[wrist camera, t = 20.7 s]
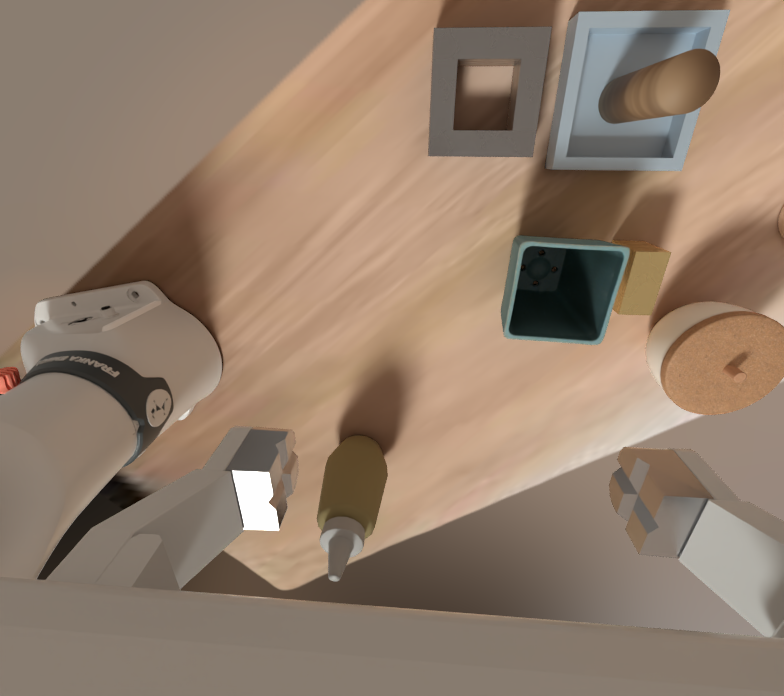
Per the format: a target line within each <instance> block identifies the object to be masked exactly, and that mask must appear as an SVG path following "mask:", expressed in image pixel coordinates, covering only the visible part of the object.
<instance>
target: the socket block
mask: <svg viewBox="0 0 784 696" xmlns="http://www.w3.org/2000/svg"><path fill="white" fill-rule="evenodd" d="M551 30H552V27H478V28H434V34H433V54H432V77H431V101H430V124H429V148H428V156H474V157H533V151H534V144H535V138H536V131H537V124H538V117H539V111H540V104H541V97H542V90H543V84H544V77H545V70H546V63H547V57H548V50H549V43H550V36H551ZM457 66H514V68H513V76H512V85H511V93H510V102H509V110H508V118H507V127H506V131H485V130H453V124H454V109H455V94H456V79H457Z"/></svg>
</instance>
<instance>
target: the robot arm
mask: <svg viewBox="0 0 784 696" xmlns="http://www.w3.org/2000/svg"><path fill="white" fill-rule="evenodd" d="M136 292H137V293H138V294H139V296H138V295H137V294H136ZM34 320H35V328H33V329H31V330H29V331H28V332H26V333H25V335H24V336H23V338H22V341H21V355H22V360H23V364H24V366H25V369H26V372H27V374H26V375H25V376H24V378H23V379H22V380H21V379H20V376H19V372H18V369H17V368H15V367H6V368H3V369H0V394H2V395H0V696H784V521H782V520H781V519H779V518H777V517H775V516H773V515H771V514H770V513H768V512H766V511H764V510H763V509H761V508H759V507H757V506H756V505H754V504H752V503H750V502H743V501H741V500H740V499H739V498H738V497H737V496H736V495H735V494H734V493H733V492H732V490H731V489H730V488H729V487H728V486H727V485H726V484H725V483H724V482H723V481H722V479H721V478H720V477H719V476H718V475H717V474H716V473H715V472H714V471H713V470H712V468H711V467H710V466H709V465H708V464H707V463H706V462H705V461H704V460H703V459H702V458H701V456H700V455H699V454H698V453H696V452H695V451H693V450H691V449H656V448H634V447H624V448H623V449H622V450H621V451H620V453H619V456H618V459H617V460H618V462H619V464H620V466H621V468H619V469H618V470H617V471H615V472H614V473H613V474H612V477H611V480H610V484H609V487H610V498H611V502H612V505H613V507H614V509H615V511H616V513H617V514H618V515H620V516H621V517H622V518H624V519H625V520H626V521H628V523H627V526H626V531H627V533H628V535H629V537H630V539H631V541H632V542H633V544H634V546H635V548H636V550H637V552H638V554H639V555H648V556H659V557H669V558H679V561H680V562H681V563H682V564H683V565H684V566H686V567H687V568H688V569H689V570H690V571H691V572H692V573H693V574H695V575H696V576H697V577H698V578H699V579H700V580H701V581H703V582H704V583H705V584H706V585H707V586H708V587H709V588H710V589H712V590H713V591H714V592H715V593H716V594H717V595H718V596H719V597H721V598H722V599H723V600H724V601H725V602H726V603H727V604H729V605H730V606H731V607H732V608H733V609H734V610H735V611H737V612H738V613H739V614H740V615H741V616H742V617H743V618H744V619H745V620H747V621H748V622H749V623H750V624H751V625H752V626H754V627H755V628H756V629H757V630H758V631H759V632H760V633H761V634H763V635H764V636H765V637H762V636H749V635H736V634H724V633H711V632H699V631H686V630H673V629H661V628H648V627H634V626H621V625H608V624H596V623H583V622H570V621H558V620H544V619H532V618H520V617H519V618H518V617H507V616H494V615H482V614H469V613H456V612H444V611H431V610H418V609H405V608H393V607H380V606H367V605H355V604H341V603H329V602H316V601H303V600H291V599H278V598H265V597H252V596H239V595H227V594H214V593H202V592H189V591H180V589H181V588H182V587H183V586H184V585H185V584H186V583H187V582H188V581H189V580H190V579H192V578H193V577H194V576H195V575H196V574H197V573H198V572H199V571H200V570H201V569H203V568H204V567H205V566H206V565H207V564H208V563H209V562H210V561H211V560H212V559H213V558H215V556H217V555H218V554H219V553H220V552H221V551H222V550H223V549H225V548H226V547H227V546H228V545H229V544H230V543H231V542H232V541H233V540H234V539H236V538H237V537H238V536H239V535H240V534H241V533H242V532H243V531H244V529H260V530H279V528H280V526H281V523H282V520H283V518H284V515H285V513H286V510H287V501H286V498H287V497H289V496H290V495H291V494H293V492H294V489H295V486H296V483H297V477H298V467H299V463H298V456H297V455H296V454H295V453H294V452H293V448H294V446H295V444H296V440H295V433H294V431H293V430H291V429H278V428H264V427H247V426H234V427H232V428H231V429H230V430H229V432H228V433H227V435H226V436H225V437H224V439H223V440H222V442H221V443H220V444H219V446H218V447H217V449H216V450H215V452H214V453H213V454H212V456H211V457H210V459H209V460H208V462H207V463H206V464H205V466H204V467H203V469H196V470H194V471H192V472H190V473H188V474H187V475H185V476H183V477H181V478H180V479H178V480H176V481H174V482H172V483H171V484H169V485H167V486H165V487H164V488H162V489H160V490H158V491H157V492H155V493H153V494H151V495H149V496H148V497H146V498H144V499H142V500H141V501H139V502H137V503H135V504H133V505H132V506H130V507H128V508H126V509H125V510H123V511H121V512H119V513H118V514H116V515H114V516H112V517H111V518H109V519H107V520H105V521H103V522H102V523H100V524H98V525H96V526H95V527H93V528H91V529H90V530H89V532H88V533H87V534H86V535H85V536H84V537H83V538H82V540H81V541H80V542H79V543H78V544H77V545H76V546H75V548H74V549H73V550H72V551H71V552H70V553H69V554H68V555H67V556H66V558H65V559H64V560H63V561H62V562H61V563H60V564H59V566H58V567H57V568H56V569H55V570H54V571H53V572H52V573H51V575H50V576H49V577H48V578H47V579H46V580H36V579H37V577H38V575H39V573H40V572H41V570H42V568H43V566H44V565H45V563H46V561H47V560H48V558H49V556H50V555H51V553H52V552H53V550H54V548H55V547H56V545H57V544H58V542H59V541H60V539H61V538H62V536H63V535H64V533H65V532H66V530H67V529H68V528H69V526H70V525H71V524H72V523H73V521H74V520H75V519H76V517H77V516H78V515H79V514H80V513H81V512H82V511H83V509H84V508H85V507H86V506H87V505H88V504H89V503H90V502H91V500H92V499H93V498H94V497H95V496H96V495H97V494H98V493H99V492H100V490H101V489H102V488H103V487H104V486H105V485H106V484H107V483H108V482H109V481H110V480H111V478H112V477H113V476H114V475H115V474H116V473H117V472H118V471H119V470H120V469H121V468H122V467H125V466H127V465H129V464H130V463H132V462H133V461H134V460H135V459H136V458H137V457H139V456H140V455H141V454H142V453H143V452H145V449H146V448H147V447H148V446H149V445H150V444H151V443H152V442H153V441H154V440H155V439H156V438H157V437H158V436H159V435H160V434H162V433H163V432H164V431H165V430H166V429H167V428H169V427H170V426H171V425H172V424H173V423H174V422H176V421H177V420H183V419H185V418H186V417H187V416H188V415H189V414H190V413H191V412H192V410H193V408H194V406H195V404H196V403H198V402H199V401H200V400H202V399H203V398H205V397H206V396H208V395H209V394H210V393H212V391H213V390H214V389H215V388H216V386H217V385H218V383H219V381H220V378H221V373H222V360H221V355H220V352H219V349H218V346H217V344H216V342H215V340H214V339H213V337H212V335H211V334H210V333H209V331H208V330H207V329H206V328H205V326H204V325H203V324H202V323H201V322H200V321H198V320H197V319H196V318H195V317H194V316H192V315H191V314H190V313H188V312H187V311H185V310H183V309H182V308H180V307H178V306H176V305H175V304H173V303H172V302H171V301H169V299H168V298H167V297H166V296H165V295H164V294H163V293H162V292H161V290H160V289H159V288H158V287H156V286H155V285H154V284H153V283H151V282H149V281H139V282H134V283H128V284H123V285H117V286H111V287H106V288H100V289H95V290H89V291H84V292H78V293H73V294H67V295H61V296H56V297H51V298H46V299H43V300H41V301H40V302H38V303H37V305H36V308H35V318H34Z"/></svg>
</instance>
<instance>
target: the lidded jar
mask: <svg viewBox="0 0 784 696" xmlns="http://www.w3.org/2000/svg"><path fill="white" fill-rule="evenodd" d="M645 355H646V362H647V365H648V368H649V370H650V372H651V374H652V376H653V377H654V379H655V380H656V382H657V383H658V385H659V386H660V387H661V388H662V389H663V390H664V391H665V393H666V394H667V396H668V397H669V398H670V399H671V400H672V401H673V402H674V403H675V404H676V405H678V406H679V407H681V408H682V409H684V410H687V411H689V412H693V413H696V414H704V415H716V414H725V413H729V412H733V411H736V410H739V409H742V408H744V407H747V406H749V405H751V404H753V403H755V402H756V401H758V400H760V399H761V398H763V397H764V396H765V395H767V394H768V393H769V392H770V391H772V390H773V389H774V388H775V387H776V386H777V385H778V383H779V382H780V381H781V380H782V378H783V377H784V327H783V326H782V325H781V324H780V323H778V322H777V321H775V320H773V319H771V318H769V317H767V316H765V315H762V314H759V313H755V312H753V311H751V310H749V309H746V308H743V307H740V306H736V305H733V304H729V303H723V302H715V301H712V302H697V303H692V304H688V305H685V306H682V307H679V308H677V309H675V310H673V311H671V312H670V313H668V314H667V315H665V316H664V317H663V318H662V319H661V320H660V321H659V322H658V323H657V324H656V325H655V326H654V327H653V329H652V331H651V332H650V334H649V337H648V339H647V343H646V348H645Z"/></svg>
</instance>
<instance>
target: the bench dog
mask: <svg viewBox="0 0 784 696" xmlns="http://www.w3.org/2000/svg"><path fill="white" fill-rule="evenodd" d="M612 243H613V244H617V245H622V246H626V247H629V248H630V256H629V259H628V262H627V265H626V268H625V271H624V275H623V278H622V281H621V284H620V287H619V290H618V293H617V296H616V299H615V302H614V306H613V310H614V311H615V312H616V313H618V314H624V315H651V314H652V311H653V308H654V305H655V302H656V298H657V295H658V292H659V289H660V286H661V283H662V280H663V277H664V273H665V270H666V267H667V264H668V261H669V258H670V255H671V252H669V251H667V250H664V249H662V248H659V247H657V246H655V245H652V244H650V243H647V242H645V241H625V240H612Z"/></svg>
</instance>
